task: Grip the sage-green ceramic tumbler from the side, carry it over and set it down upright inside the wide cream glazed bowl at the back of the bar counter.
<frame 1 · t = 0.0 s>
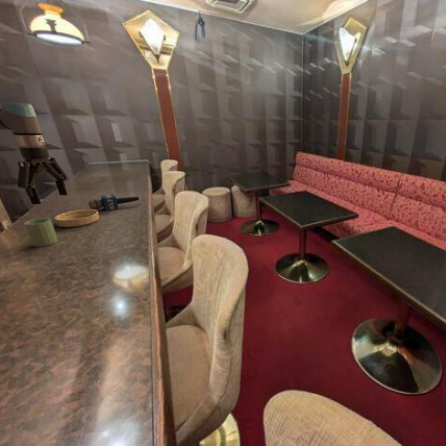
hand: (51, 199, 103), 19 cm above the bar counter, tool pointing down, fingers open, 13 cm apart
bowl: (79, 221, 130), on the bar counter
microphone: (116, 207, 153), on the bar counter
tumbler: (45, 242, 107), on the bar counter
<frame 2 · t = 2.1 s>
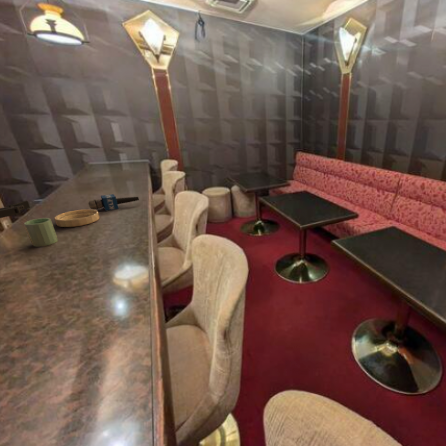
hand: (6, 204, 91), 20 cm above the bar counter, tool horizontal, fingers open, 13 cm apart
nothing on the bar counter moved.
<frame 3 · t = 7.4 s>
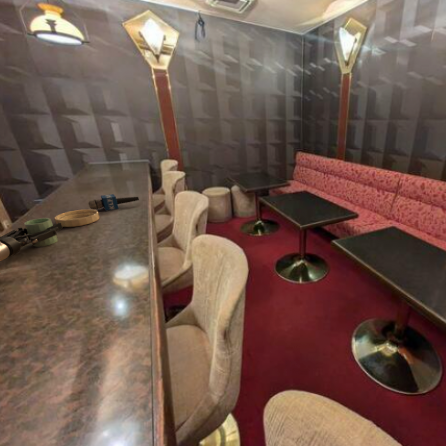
hand: (49, 225, 109), 6 cm above the bar counter, tool horizontal, fingers closed on tumbler, 8 cm apart
tumbler: (45, 242, 107), on the bar counter, touching gripper
everything else where it was.
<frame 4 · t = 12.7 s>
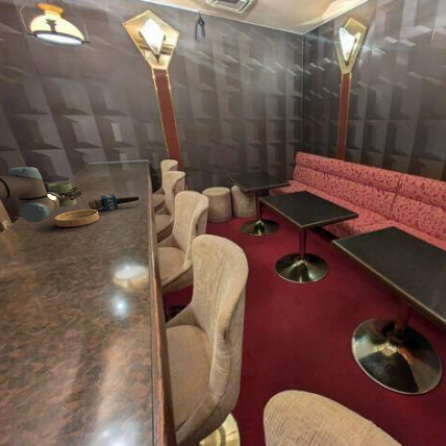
hand: (65, 190, 120), 18 cm above the bar counter, tool horizontal, fingers closed on tumbler, 8 cm apart
tumbler: (66, 204, 118), point 12 cm above the bar counter, touching gripper
everything else where it was.
when the fingers open (7 cm above the bar counter, at t = 17.9 s): tumbler stays where it is, resting on bowl.
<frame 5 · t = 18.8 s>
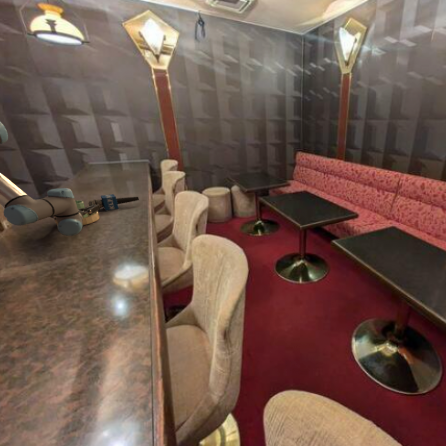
hand: (75, 206, 129), 8 cm above the bar counter, tool horizontal, fingers open, 13 cm apart
tumbler: (79, 220, 129), point 1 cm above the bar counter, touching bowl
everything else where it was.
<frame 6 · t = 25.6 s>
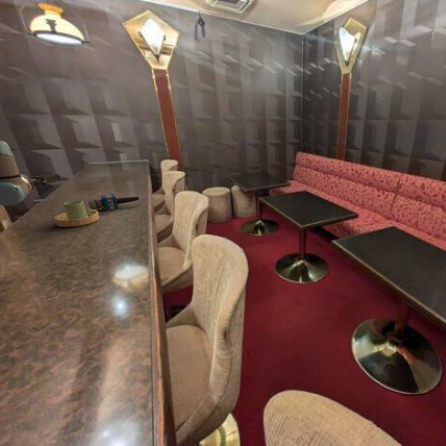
hand: (28, 175, 102), 28 cm above the bar counter, tool horizontal, fingers open, 13 cm apart
nothing on the bar counter moved.
at the end: tumbler inside the target area in the bowl (0.0 cm from its centre), point 0.6 cm above the bowl's base; tumbler tilted 0°; the gripper is holding nothing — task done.
